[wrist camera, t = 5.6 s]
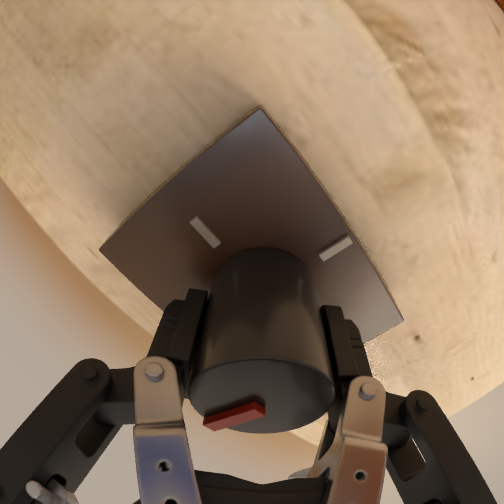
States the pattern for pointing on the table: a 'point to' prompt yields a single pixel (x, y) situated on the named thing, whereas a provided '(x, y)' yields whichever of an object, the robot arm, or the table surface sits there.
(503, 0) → the alarm clock
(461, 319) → the table surface
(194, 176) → the dial panel
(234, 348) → the dial
